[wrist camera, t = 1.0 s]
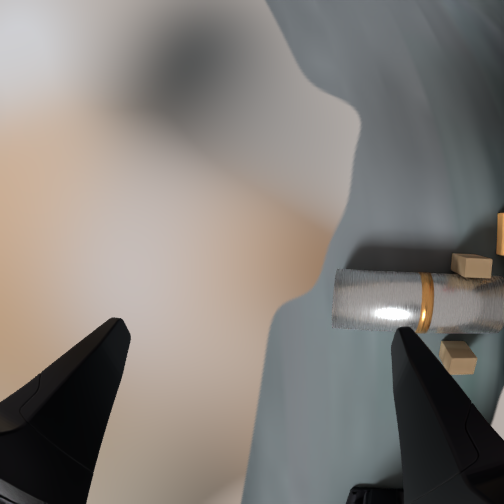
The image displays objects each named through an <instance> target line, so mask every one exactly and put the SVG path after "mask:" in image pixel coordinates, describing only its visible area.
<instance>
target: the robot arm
mask: <svg viewBox="0 0 504 504" xmlns="http://www.w3.org/2000/svg"><path fill="white" fill-rule="evenodd" d="M130 340H131V336H130V333H129V331H128V329H127V327H126V325H125V323H124V321H123V320H122V319H121V318H110V319H109V320H107V321H106V322H105V323H103V324H102V325H101V326H99V327H98V328H97V329H96V330H94V331H93V332H92V333H91V334H89V335H88V336H87V337H85V338H84V339H83V340H81V341H80V342H79V343H78V344H76V345H75V346H74V347H72V348H71V349H70V350H69V351H68V352H66V353H65V354H64V355H62V356H61V357H60V358H58V359H57V360H56V361H55V362H53V363H52V364H51V365H50V366H48V367H47V368H46V369H45V370H44V371H42V372H41V373H40V374H38V375H37V376H36V377H35V378H33V379H32V380H31V381H30V382H28V383H27V384H26V385H24V386H23V387H22V388H20V389H19V390H17V391H16V392H14V393H13V394H12V395H10V396H9V397H7V398H6V399H5V400H3V401H1V402H0V504H86V502H87V497H88V493H89V489H90V485H91V481H92V477H93V472H94V469H95V465H96V461H97V458H98V454H99V450H100V447H101V443H102V439H103V436H104V432H105V429H106V426H107V423H108V419H109V416H110V413H111V410H112V406H113V403H114V400H115V397H116V394H117V391H118V388H119V385H120V381H121V378H122V374H123V371H124V366H125V361H126V358H127V353H128V349H129V344H130ZM391 356H392V373H393V393H394V401H395V408H396V415H397V423H398V431H399V440H400V449H401V460H402V471H403V486H404V489H379V488H359V487H354V488H352V489H351V490H350V493H349V496H348V499H347V502H346V504H504V440H503V439H502V438H501V437H500V436H499V435H498V433H497V432H496V431H495V430H494V429H493V428H492V427H491V426H490V424H489V423H488V422H487V421H486V420H485V418H484V417H483V416H482V415H481V413H480V412H479V411H478V409H477V408H476V407H475V405H474V404H473V403H472V404H471V400H470V399H469V398H468V396H467V395H466V394H465V393H464V391H463V390H462V389H461V387H460V386H459V385H458V384H457V382H456V381H455V380H454V379H453V377H452V376H451V375H450V374H449V372H448V371H447V370H446V369H445V367H444V366H443V365H442V364H441V362H440V361H439V360H438V359H437V358H436V356H435V355H434V354H433V353H432V352H431V350H430V349H429V348H428V347H427V346H426V344H425V343H424V342H423V341H422V340H421V338H420V337H419V336H418V335H417V334H416V333H415V331H414V330H413V329H412V328H411V327H409V326H404V327H398V328H397V329H396V332H395V335H394V338H393V341H392V345H391ZM354 491H356V492H354Z"/></svg>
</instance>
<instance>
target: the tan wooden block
mask: <svg viewBox="0 0 504 504" xmlns="http://www.w3.org/2000/svg"><path fill="white" fill-rule="evenodd" d="M496 254H498V255H504V213H498V224H497V250H496Z"/></svg>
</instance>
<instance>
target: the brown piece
mask: <svg viewBox="0 0 504 504" xmlns="http://www.w3.org/2000/svg"><path fill="white" fill-rule="evenodd" d="M451 270H452V271H454V272H456V273H458V274H459V275H461V276H463V277H470V278H491V270H492V259H490V258H486V257H483V256H479V255H476V254H457V253H452V261H451ZM439 357H440V359H441V361H442V363H443V365H444V367H445V369H446V370H447V371H448V372H449V374H450V375H453V374H473V373H474V369H475V365H476V361H477V357H476V356H475V354H474V353H473V352H472V350H471V349H470V348H469V346H468V345H467V344H466V342H465V341H441V346H440V352H439Z"/></svg>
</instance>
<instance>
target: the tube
mask: <svg viewBox="0 0 504 504" xmlns="http://www.w3.org/2000/svg"><path fill="white" fill-rule="evenodd" d="M503 325H504V278H503V277H501V276H493V275H491V278H470V277H463V276H461V275H459V274H440V273H427V272H418V273H416V272H394V271H372V270H352V269H337V271H336V277H335V284H334V294H333V307H332V328H338V329H352V330H368V331H387V332H396V329H397V328H398V327H404V326H409V327H411V328H412V329H413V330H414V331H415V333H451V334H487V333H498V332H499V331H500V330H501V329H502V327H503Z"/></svg>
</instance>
